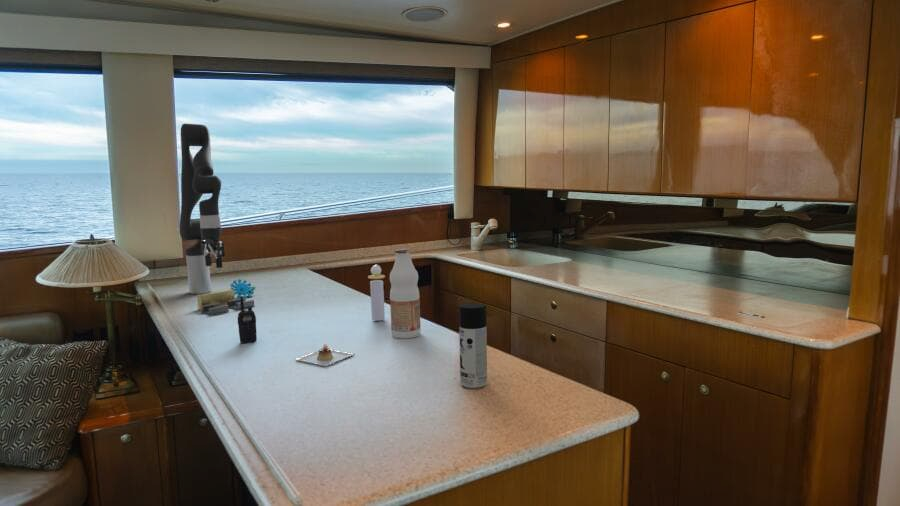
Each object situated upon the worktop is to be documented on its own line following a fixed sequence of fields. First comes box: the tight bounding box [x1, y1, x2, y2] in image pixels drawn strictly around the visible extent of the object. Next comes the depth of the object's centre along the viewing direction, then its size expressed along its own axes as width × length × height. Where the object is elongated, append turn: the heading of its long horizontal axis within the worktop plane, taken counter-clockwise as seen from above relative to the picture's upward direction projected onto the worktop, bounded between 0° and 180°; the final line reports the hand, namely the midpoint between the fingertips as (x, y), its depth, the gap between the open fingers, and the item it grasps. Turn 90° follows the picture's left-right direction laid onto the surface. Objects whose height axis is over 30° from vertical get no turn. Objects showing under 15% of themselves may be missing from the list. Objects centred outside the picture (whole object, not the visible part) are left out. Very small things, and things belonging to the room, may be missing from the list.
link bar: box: [196, 288, 236, 311], centre depth 241 cm, size 3×14×6 cm, turn 139°
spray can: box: [458, 302, 488, 390], centre depth 147 cm, size 7×7×20 cm
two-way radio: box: [237, 295, 257, 344], centre depth 189 cm, size 6×4×15 cm
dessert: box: [295, 343, 355, 368], centre depth 171 cm, size 12×12×5 cm
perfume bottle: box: [367, 264, 386, 321], centre depth 211 cm, size 6×6×20 cm
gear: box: [229, 278, 257, 299], centre depth 258 cm, size 11×6×10 cm
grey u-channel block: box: [200, 297, 255, 316], centre depth 235 cm, size 8×18×2 cm, turn 139°
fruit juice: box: [389, 247, 422, 340], centre depth 191 cm, size 9×9×28 cm
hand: (214, 266), depth 239 cm, fingers open, 8 cm apart
